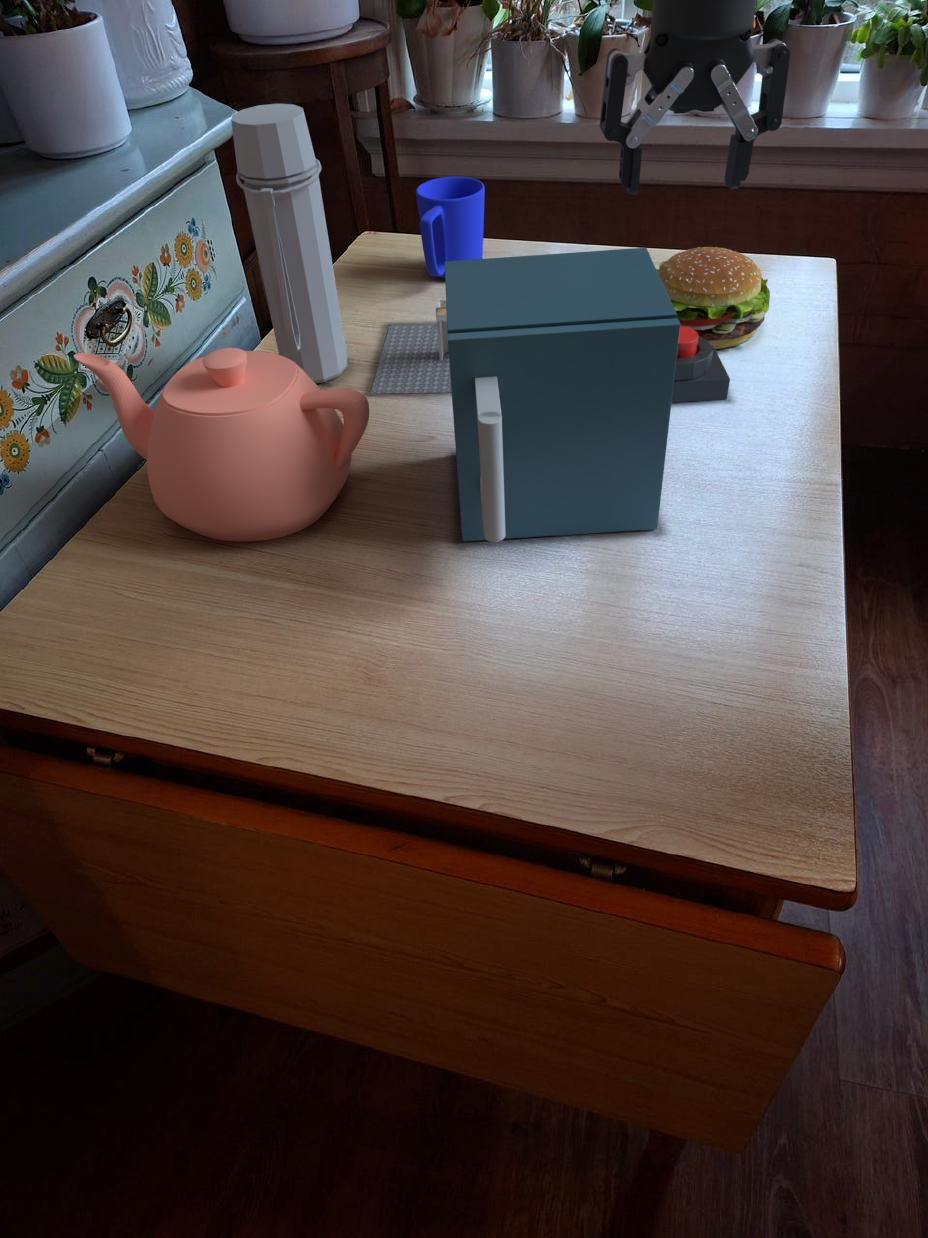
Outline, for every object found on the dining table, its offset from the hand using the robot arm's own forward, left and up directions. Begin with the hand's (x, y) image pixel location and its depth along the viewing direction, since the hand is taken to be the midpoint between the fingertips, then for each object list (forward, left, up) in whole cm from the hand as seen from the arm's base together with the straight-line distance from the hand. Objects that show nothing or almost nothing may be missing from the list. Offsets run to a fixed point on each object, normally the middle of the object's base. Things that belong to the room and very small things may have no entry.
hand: (681, 188), depth 77 cm
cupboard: (+12, +15, -19) cm, 27 cm away
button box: (-2, -1, -19) cm, 19 cm away
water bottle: (+35, -8, -20) cm, 41 cm away
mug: (+20, -31, -20) cm, 42 cm away
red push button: (-2, -1, -16) cm, 16 cm away
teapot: (+39, +13, -20) cm, 46 cm away
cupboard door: (+12, +24, -19) cm, 33 cm away
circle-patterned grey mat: (+18, -10, -20) cm, 29 cm away
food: (-7, -13, -20) cm, 25 cm away
